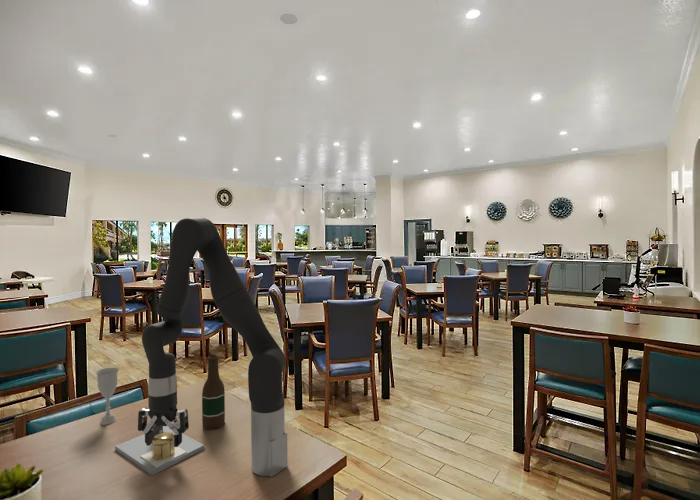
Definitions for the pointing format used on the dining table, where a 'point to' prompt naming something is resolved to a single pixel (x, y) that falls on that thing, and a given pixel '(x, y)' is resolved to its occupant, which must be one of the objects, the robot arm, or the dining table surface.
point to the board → (143, 453)
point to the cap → (163, 446)
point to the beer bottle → (213, 397)
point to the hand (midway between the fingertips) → (163, 445)
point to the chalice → (107, 391)
